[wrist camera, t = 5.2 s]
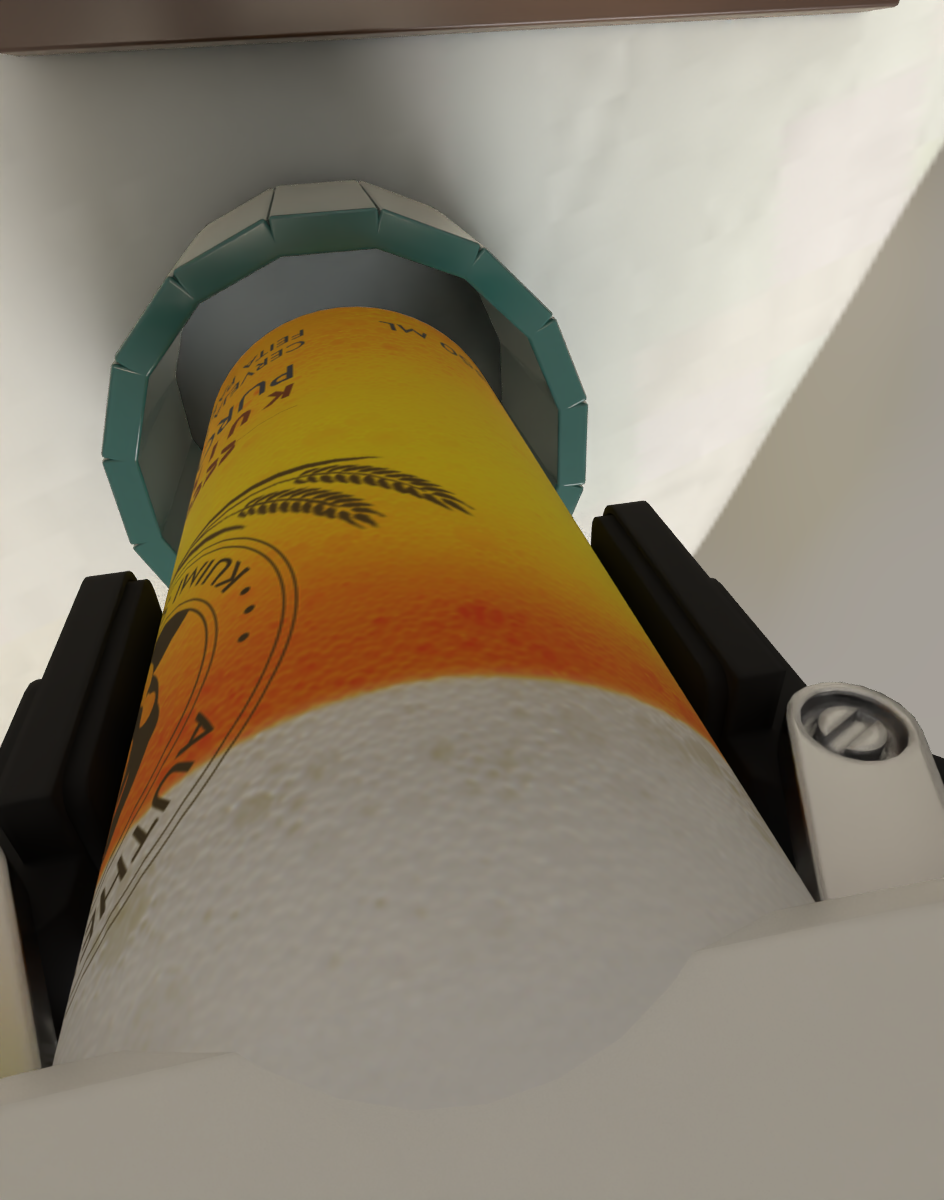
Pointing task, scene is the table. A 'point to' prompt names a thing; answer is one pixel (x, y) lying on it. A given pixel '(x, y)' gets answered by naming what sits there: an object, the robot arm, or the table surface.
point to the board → (344, 19)
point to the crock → (302, 227)
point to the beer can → (401, 755)
